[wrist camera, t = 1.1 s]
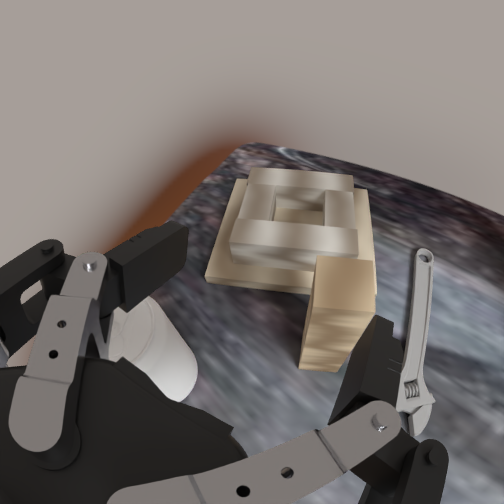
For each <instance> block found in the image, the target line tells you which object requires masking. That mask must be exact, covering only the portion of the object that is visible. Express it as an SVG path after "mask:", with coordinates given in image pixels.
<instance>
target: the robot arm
mask: <svg viewBox="0 0 504 504" xmlns="http://www.w3.org/2000/svg"><path fill="white" fill-rule="evenodd" d="M188 234H189V231H188V228H187V227H185V226H183V225H181V224H179V223H177V222H174V221H169V222H167V223H165V224H164V225H162V226H160V227H154V228H150V229H146V230H144V231H142V232H140V233H139V234H137V235H136V236H134V237H132V238H130V239H129V240H127V241H125V242H123V243H122V244H120V245H118V246H117V247H115V248H113V249H112V250H110V251H108V252H107V253H105V254H103V255H102V254H101V253H97V252H87V253H83V254H81V255H79V256H77V257H74V256H71V255H68V254H65V253H64V249H63V244H62V243H61V242H60V241H58V240H54V239H50V240H45V241H42V242H40V243H38V244H36V245H35V246H33V247H32V248H30V249H29V250H27V251H25V252H24V253H22V254H21V255H19V256H17V257H16V258H14V259H13V260H11V261H10V262H8V263H7V264H5V265H4V266H2V267H1V268H0V504H291V503H293V502H295V501H297V500H299V499H301V498H303V497H304V496H306V495H308V494H310V493H312V492H314V491H316V490H317V489H319V488H321V487H323V486H325V485H326V484H328V483H330V482H331V481H333V480H335V479H336V478H338V477H340V476H341V475H343V474H344V473H346V472H347V471H348V470H350V471H351V472H353V473H354V474H355V475H357V476H358V477H359V478H361V479H362V480H363V481H365V482H366V486H365V488H364V491H363V493H362V496H361V498H360V500H359V503H358V504H440V501H441V497H442V493H443V488H444V484H445V479H446V474H447V469H448V462H449V457H448V453H447V450H446V448H445V447H444V445H443V444H442V443H440V442H439V441H437V440H434V439H427V440H424V441H423V442H421V443H419V442H418V441H417V440H415V439H414V438H413V437H411V436H410V435H409V434H407V433H406V432H405V431H404V430H403V429H402V428H401V418H400V415H399V413H398V412H397V410H396V404H397V398H398V392H399V385H400V378H401V375H400V374H401V371H402V362H403V353H404V352H403V349H402V346H401V342H400V340H398V339H396V338H393V337H392V335H393V327H394V323H393V322H392V321H389V320H387V319H385V318H383V317H381V316H378V315H375V316H374V317H373V319H372V320H371V322H370V323H369V325H368V327H367V328H366V330H365V331H364V333H363V334H362V336H361V337H360V339H359V340H358V342H357V344H356V345H355V347H354V349H353V352H352V354H351V357H350V360H349V364H348V367H347V370H346V373H345V376H344V379H343V382H342V385H341V388H340V391H339V394H338V397H337V400H336V403H335V406H334V408H333V411H332V414H331V417H330V419H329V422H328V424H327V425H329V426H328V427H326V428H324V429H322V430H317V429H315V430H312V431H310V432H307V433H305V434H303V435H301V436H299V437H297V438H294V439H292V440H290V441H288V442H285V443H283V444H281V445H278V446H276V447H274V448H271V449H269V450H266V451H264V452H261V453H259V454H256V455H254V456H251V457H248V456H247V454H246V452H245V451H244V449H243V448H242V446H241V445H240V444H239V443H238V442H237V441H236V440H235V439H234V438H233V437H232V436H231V432H232V430H233V428H234V427H232V426H230V425H228V424H226V423H225V422H223V421H221V420H219V419H217V418H216V417H214V416H212V415H210V414H209V413H207V412H205V411H203V410H200V409H197V408H194V407H191V406H188V405H185V404H183V403H180V402H177V401H174V400H171V399H169V398H168V397H167V396H166V395H165V394H164V393H163V392H162V391H161V390H160V389H159V388H158V387H157V385H156V384H155V383H154V382H153V381H152V380H151V379H150V377H149V376H148V375H147V374H146V373H145V372H143V371H142V370H140V369H139V368H138V367H136V366H135V365H134V364H132V363H131V362H130V361H128V360H127V359H126V358H124V357H123V356H122V357H121V358H120V359H119V360H118V361H117V362H114V361H111V360H109V344H110V337H111V331H112V325H113V319H114V310H115V309H116V308H117V307H119V308H120V309H122V310H123V311H125V312H126V313H128V312H129V311H131V310H132V309H133V308H134V307H135V306H137V305H138V304H139V303H140V302H142V301H143V300H144V299H145V298H146V297H148V296H149V295H150V294H151V293H153V292H154V291H155V290H156V289H158V288H159V287H160V286H161V285H163V284H164V283H165V282H166V281H168V280H169V279H170V278H171V277H173V276H174V275H175V274H176V273H178V272H179V271H180V270H181V269H182V267H183V266H184V264H185V261H186V254H187V244H188ZM39 280H40V282H41V285H42V290H41V291H39V292H38V293H37V294H36V295H34V296H33V297H31V298H30V299H29V300H28V301H26V302H25V303H24V304H21V301H20V298H21V294H22V293H23V292H24V291H25V290H26V289H28V288H29V287H30V286H32V285H33V284H34V283H36V282H37V281H39ZM34 335H36V338H35V340H34V344H33V347H32V350H31V353H30V357H29V361H28V364H27V365H26V366H17V367H8V365H7V364H6V363H7V361H8V359H9V358H10V357H11V356H12V355H13V354H14V353H15V352H16V351H18V350H19V349H20V348H21V347H22V346H23V345H24V344H25V343H27V342H28V341H29V340H30V339H31V338H32V337H34Z"/></svg>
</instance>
